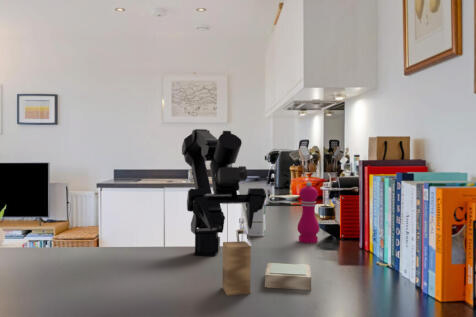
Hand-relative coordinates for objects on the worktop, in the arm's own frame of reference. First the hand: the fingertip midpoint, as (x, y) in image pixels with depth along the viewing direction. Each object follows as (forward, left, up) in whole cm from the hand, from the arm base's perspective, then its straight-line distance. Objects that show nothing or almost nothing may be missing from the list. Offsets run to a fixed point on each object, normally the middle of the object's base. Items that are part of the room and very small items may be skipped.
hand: (231, 228), depth 96 cm
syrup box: (+1, +55, -12) cm, 57 cm away
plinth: (+13, +2, -12) cm, 18 cm away
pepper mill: (+19, +47, -12) cm, 52 cm away
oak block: (+2, -6, -12) cm, 14 cm away
